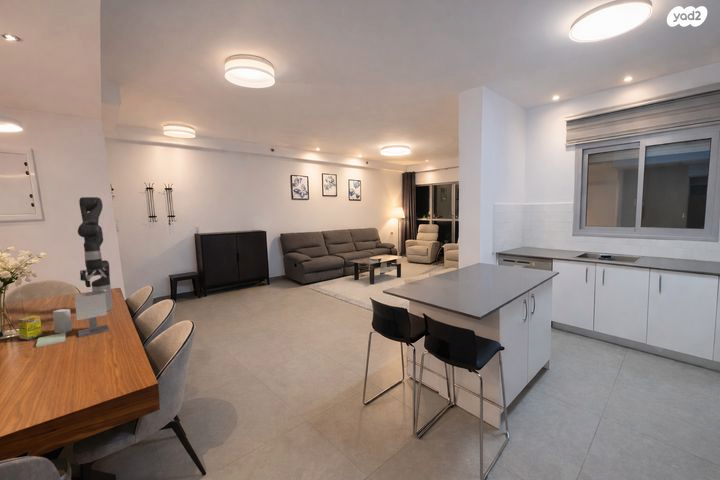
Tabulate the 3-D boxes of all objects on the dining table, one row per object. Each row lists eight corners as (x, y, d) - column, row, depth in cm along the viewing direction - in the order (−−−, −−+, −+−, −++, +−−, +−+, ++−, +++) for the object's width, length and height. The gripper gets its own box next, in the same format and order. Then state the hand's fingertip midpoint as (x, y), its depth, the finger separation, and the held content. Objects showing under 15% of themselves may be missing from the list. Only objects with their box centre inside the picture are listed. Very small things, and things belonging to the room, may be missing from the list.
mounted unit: (78, 332, 163) (74, 294, 160) (107, 326, 171) (104, 290, 169) (78, 337, 156) (74, 297, 154) (108, 331, 165) (105, 293, 162)
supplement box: (28, 340, 152) (25, 320, 151) (19, 339, 153) (17, 319, 152) (42, 336, 158) (40, 316, 157) (34, 335, 159) (31, 315, 158)
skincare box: (72, 330, 166) (70, 309, 165) (64, 333, 161) (62, 311, 160) (62, 329, 166) (60, 308, 165) (54, 332, 162) (52, 311, 161)
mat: (38, 340, 153) (38, 337, 153) (65, 334, 160) (65, 332, 160) (36, 347, 145) (36, 344, 145) (65, 341, 152) (64, 338, 152)
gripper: (101, 257, 186) (104, 282, 187) (74, 260, 172) (78, 288, 173) (110, 256, 184) (113, 282, 185) (84, 260, 170) (88, 288, 171)
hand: (96, 285), depth 179 cm, fingers open, 8 cm apart
